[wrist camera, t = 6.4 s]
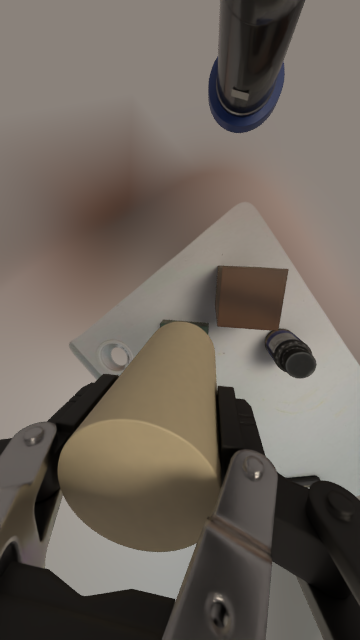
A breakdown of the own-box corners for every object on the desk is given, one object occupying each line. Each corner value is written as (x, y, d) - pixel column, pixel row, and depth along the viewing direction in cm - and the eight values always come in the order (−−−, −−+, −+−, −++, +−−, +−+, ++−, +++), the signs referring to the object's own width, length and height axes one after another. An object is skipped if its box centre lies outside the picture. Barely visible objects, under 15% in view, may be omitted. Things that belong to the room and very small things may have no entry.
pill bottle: (295, 353, 44) (322, 380, 34) (265, 356, 46) (282, 384, 35) (293, 325, 43) (320, 345, 33) (262, 330, 44) (278, 350, 34)
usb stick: (279, 485, 54) (281, 492, 52) (277, 477, 53) (279, 484, 52) (319, 482, 52) (322, 488, 50) (317, 474, 51) (320, 480, 50)
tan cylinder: (148, 319, 15) (45, 409, 6) (217, 323, 15) (230, 433, 5) (148, 379, 17) (66, 535, 7) (212, 386, 16) (215, 566, 6)
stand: (218, 265, 42) (222, 266, 27) (259, 267, 41) (288, 269, 26) (214, 304, 44) (217, 326, 29) (254, 307, 43) (278, 331, 28)
